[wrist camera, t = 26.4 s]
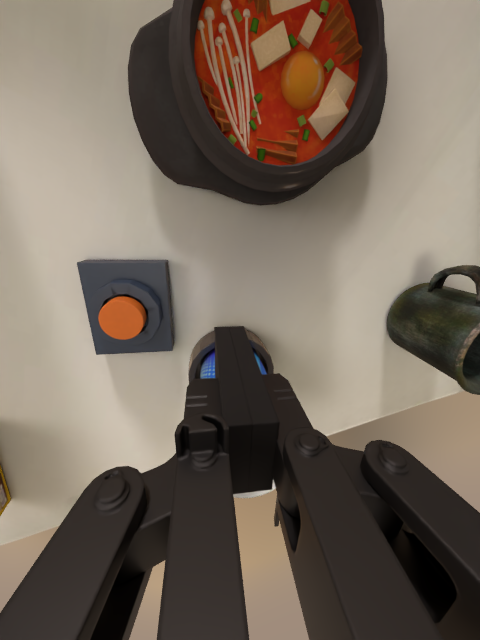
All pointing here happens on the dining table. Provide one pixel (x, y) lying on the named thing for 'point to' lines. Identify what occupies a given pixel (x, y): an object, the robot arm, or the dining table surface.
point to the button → (122, 317)
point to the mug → (442, 326)
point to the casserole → (258, 92)
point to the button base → (136, 282)
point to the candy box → (3, 493)
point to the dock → (209, 344)
